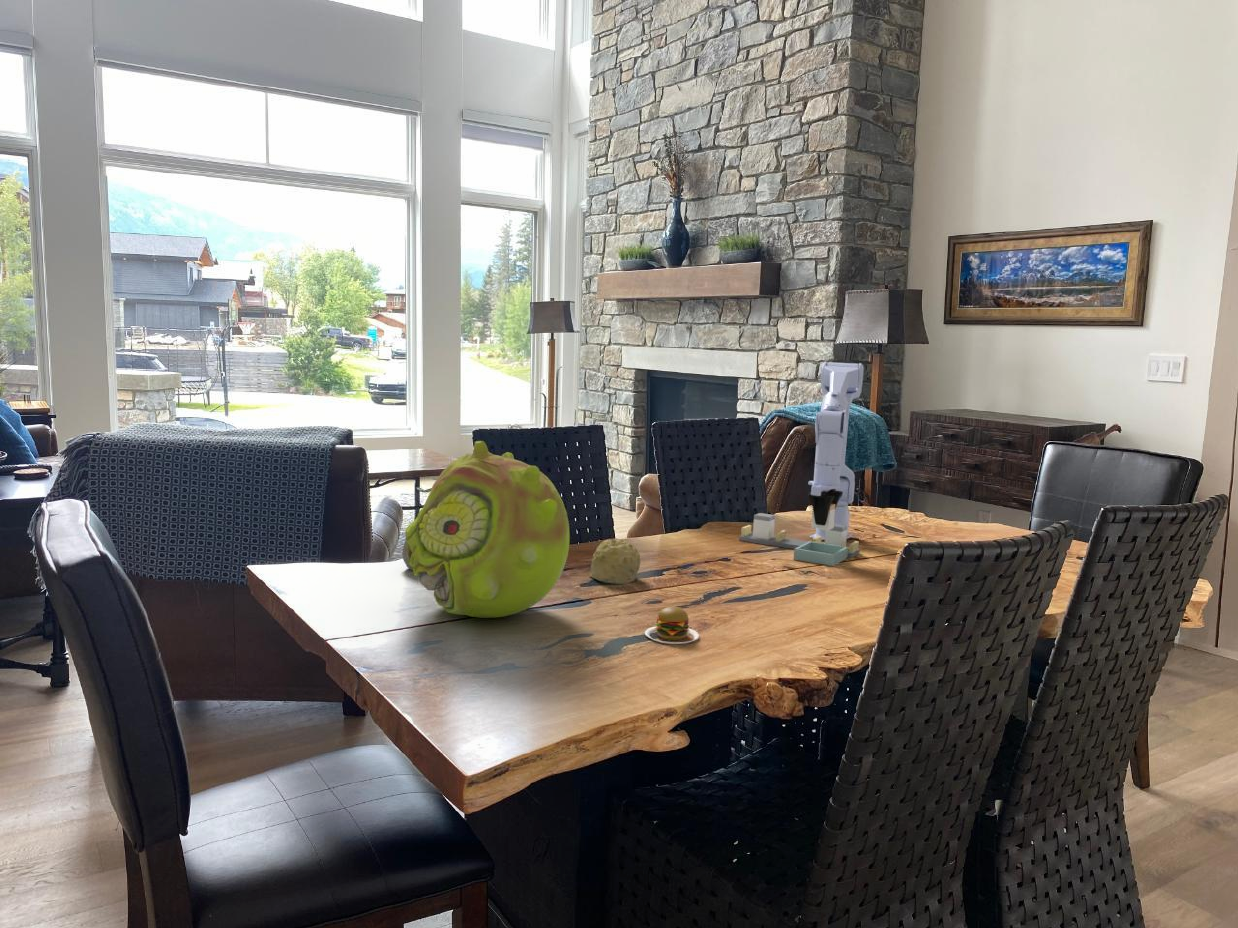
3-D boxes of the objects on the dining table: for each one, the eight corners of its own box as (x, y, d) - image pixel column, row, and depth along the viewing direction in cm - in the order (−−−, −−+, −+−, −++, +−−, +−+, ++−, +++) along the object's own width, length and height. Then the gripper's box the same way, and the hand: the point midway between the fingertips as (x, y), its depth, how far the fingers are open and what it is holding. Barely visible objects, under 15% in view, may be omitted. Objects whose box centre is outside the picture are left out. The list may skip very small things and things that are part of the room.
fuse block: (749, 536, 237) (749, 524, 237) (859, 553, 223) (860, 540, 223) (738, 540, 232) (739, 528, 232) (851, 558, 218) (852, 545, 218)
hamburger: (651, 655, 148) (653, 621, 147) (624, 631, 159) (625, 599, 158) (720, 649, 152) (722, 615, 152) (689, 626, 163) (691, 595, 163)
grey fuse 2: (829, 545, 226) (830, 523, 225) (845, 548, 224) (847, 525, 223) (824, 548, 223) (825, 525, 222) (840, 550, 221) (842, 527, 220)
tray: (808, 551, 223) (809, 541, 222) (847, 557, 218) (848, 547, 218) (793, 559, 214) (794, 548, 214) (833, 566, 210) (834, 555, 209)
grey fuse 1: (758, 534, 235) (759, 512, 234) (773, 537, 233) (775, 515, 232) (752, 537, 232) (754, 515, 231) (768, 539, 230) (769, 517, 229)
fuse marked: (816, 525, 218) (818, 501, 217) (833, 527, 216) (835, 504, 215) (811, 527, 215) (813, 503, 214) (828, 530, 213) (830, 506, 212)
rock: (630, 589, 196) (617, 544, 199) (654, 574, 187) (640, 527, 190) (589, 598, 192) (576, 551, 194) (611, 583, 182) (597, 534, 185)
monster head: (392, 594, 173) (394, 430, 169) (538, 586, 183) (544, 430, 178) (418, 648, 144) (421, 452, 140) (590, 635, 154) (598, 452, 150)
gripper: (821, 459, 221) (816, 516, 223) (799, 465, 209) (795, 525, 211) (850, 462, 218) (846, 520, 220) (830, 468, 205) (826, 530, 207)
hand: (823, 523), depth 215 cm, fingers closed on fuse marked, 4 cm apart
